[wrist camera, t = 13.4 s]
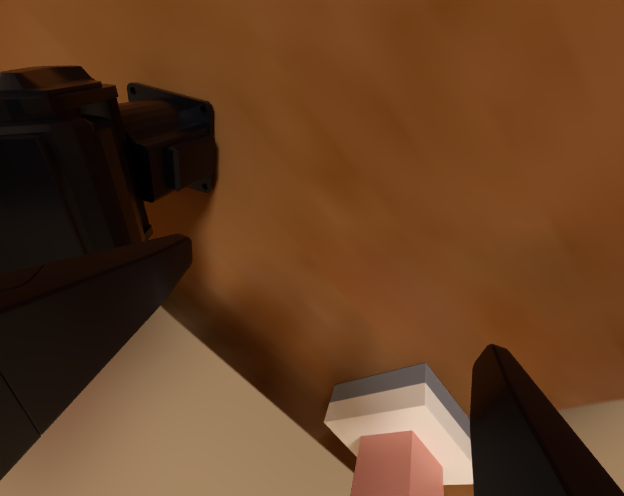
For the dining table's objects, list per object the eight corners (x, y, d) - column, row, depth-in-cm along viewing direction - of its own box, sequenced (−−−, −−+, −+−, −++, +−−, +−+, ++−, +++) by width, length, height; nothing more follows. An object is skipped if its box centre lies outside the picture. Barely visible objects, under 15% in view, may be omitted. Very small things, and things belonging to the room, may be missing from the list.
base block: (334, 385, 32) (323, 422, 29) (425, 362, 27) (424, 405, 23) (388, 445, 34) (384, 486, 31) (482, 435, 29) (488, 483, 26)
